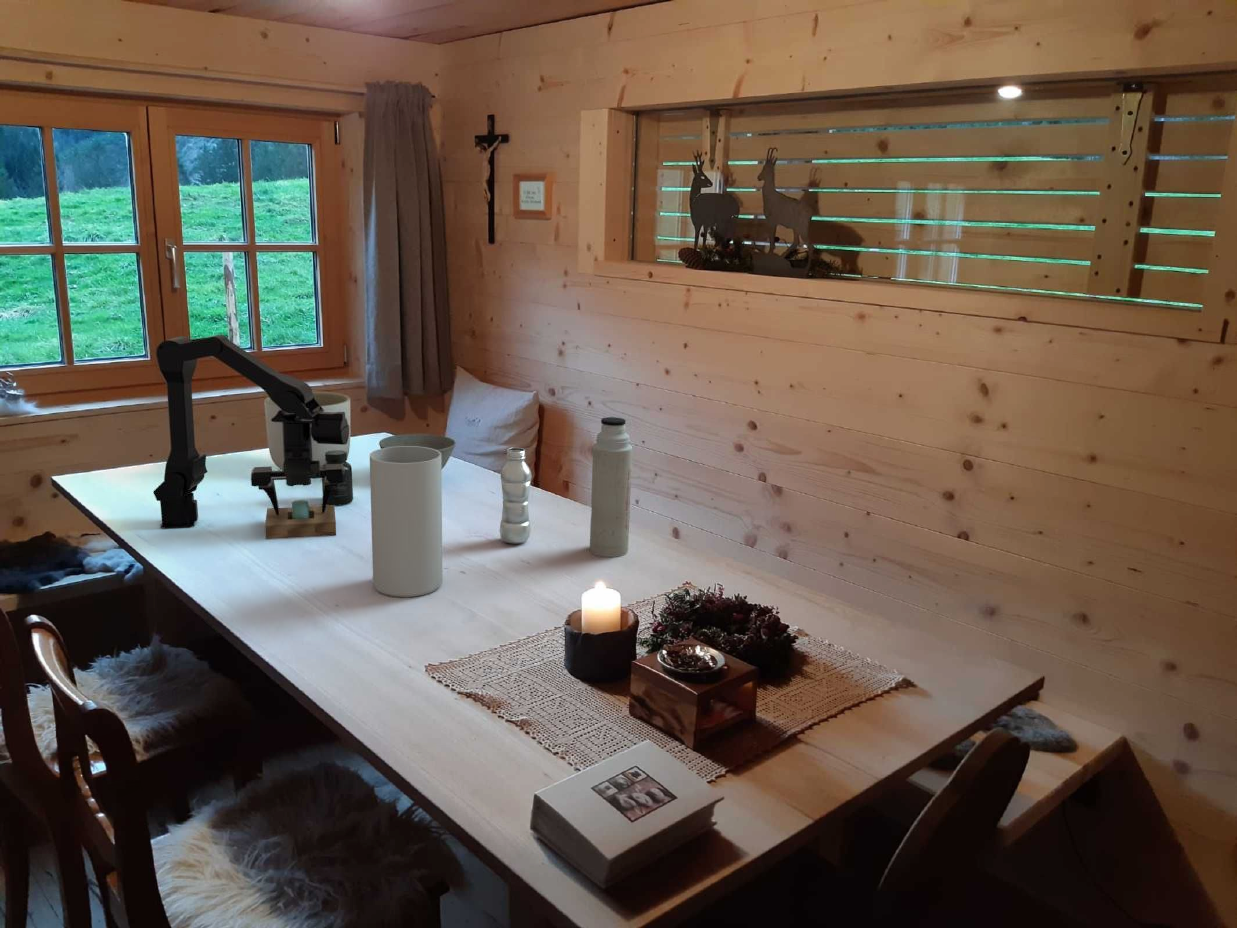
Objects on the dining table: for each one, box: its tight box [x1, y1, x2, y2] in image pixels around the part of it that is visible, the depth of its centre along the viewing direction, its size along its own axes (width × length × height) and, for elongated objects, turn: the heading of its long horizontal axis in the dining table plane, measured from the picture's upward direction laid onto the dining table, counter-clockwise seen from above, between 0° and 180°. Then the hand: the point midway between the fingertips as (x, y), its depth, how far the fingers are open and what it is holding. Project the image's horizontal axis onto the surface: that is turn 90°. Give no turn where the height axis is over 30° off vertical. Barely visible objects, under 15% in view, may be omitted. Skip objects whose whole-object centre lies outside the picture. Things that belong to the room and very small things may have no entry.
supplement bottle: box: [321, 450, 354, 507], centre depth 225 cm, size 7×7×12 cm
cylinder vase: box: [369, 446, 443, 598], centre depth 176 cm, size 12×12×25 cm
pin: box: [291, 499, 309, 519], centre depth 207 cm, size 3×3×5 cm
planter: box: [264, 390, 351, 471], centre depth 249 cm, size 21×21×19 cm
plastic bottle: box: [499, 447, 532, 544], centre depth 202 cm, size 6×7×20 cm
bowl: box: [378, 433, 457, 470], centre depth 246 cm, size 19×19×10 cm
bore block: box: [264, 505, 337, 540], centre depth 208 cm, size 14×12×3 cm
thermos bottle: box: [589, 416, 633, 558], centre depth 198 cm, size 8×8×28 cm
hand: (300, 513), depth 207 cm, fingers open, 9 cm apart
